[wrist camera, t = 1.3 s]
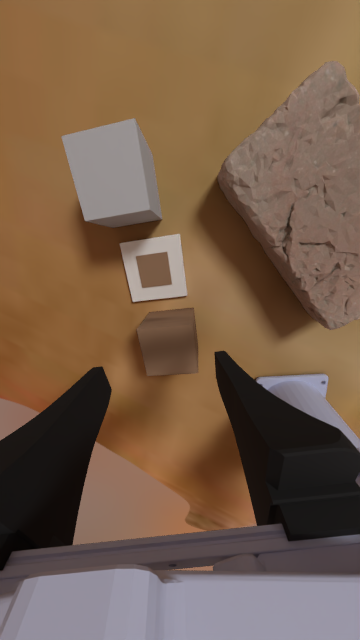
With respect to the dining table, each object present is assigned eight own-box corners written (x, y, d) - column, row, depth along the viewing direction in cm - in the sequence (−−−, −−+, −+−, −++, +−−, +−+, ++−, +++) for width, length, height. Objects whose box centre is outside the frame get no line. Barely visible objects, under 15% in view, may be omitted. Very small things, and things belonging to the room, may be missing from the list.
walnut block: (198, 347, 23) (198, 373, 18) (157, 350, 23) (147, 376, 19) (193, 307, 21) (192, 324, 16) (149, 311, 22) (136, 329, 17)
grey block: (162, 219, 18) (150, 209, 13) (112, 227, 19) (84, 221, 14) (152, 155, 16) (134, 118, 12) (98, 166, 17) (61, 136, 12)
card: (187, 294, 20) (187, 295, 20) (133, 300, 21) (132, 302, 21) (179, 234, 18) (179, 233, 18) (121, 243, 19) (119, 243, 19)
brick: (210, 182, 17) (215, 160, 12) (299, 93, 14) (344, 26, 10) (305, 317, 21) (334, 336, 16) (388, 265, 18) (449, 271, 14)
